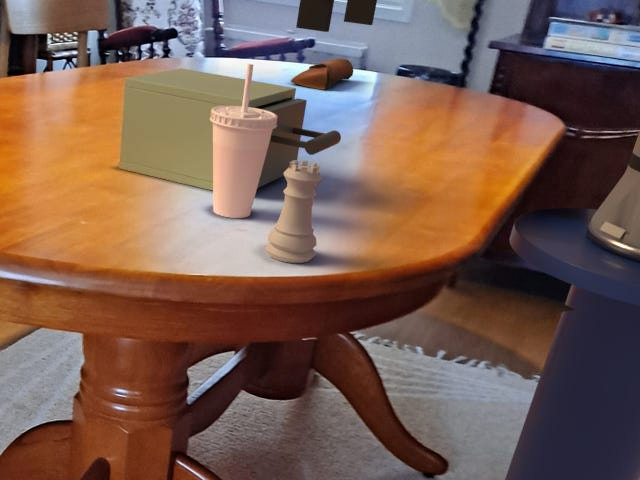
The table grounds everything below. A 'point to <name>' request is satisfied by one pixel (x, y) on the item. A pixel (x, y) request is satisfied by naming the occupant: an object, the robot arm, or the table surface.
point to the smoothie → (239, 153)
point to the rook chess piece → (296, 216)
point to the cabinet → (181, 121)
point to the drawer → (290, 139)
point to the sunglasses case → (324, 74)
